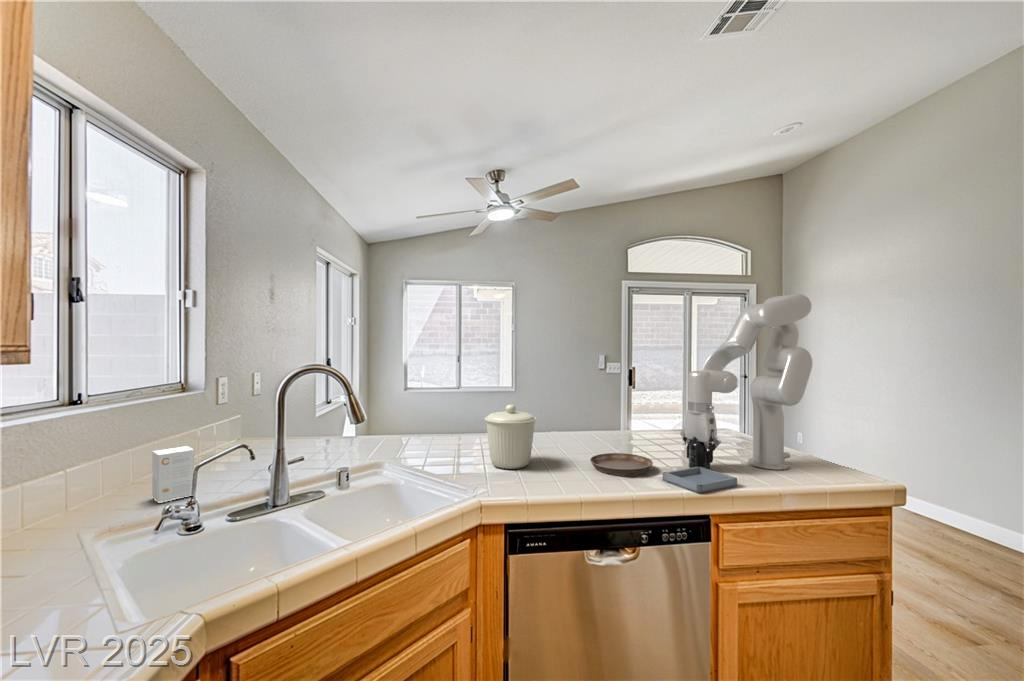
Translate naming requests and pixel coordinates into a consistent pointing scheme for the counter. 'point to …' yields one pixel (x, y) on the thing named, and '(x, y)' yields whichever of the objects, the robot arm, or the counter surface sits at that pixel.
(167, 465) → the small box
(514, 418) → the canister
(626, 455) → the plant saucer
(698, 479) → the tray
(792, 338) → the robot arm
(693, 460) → the supplement bottle
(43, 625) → the counter surface
